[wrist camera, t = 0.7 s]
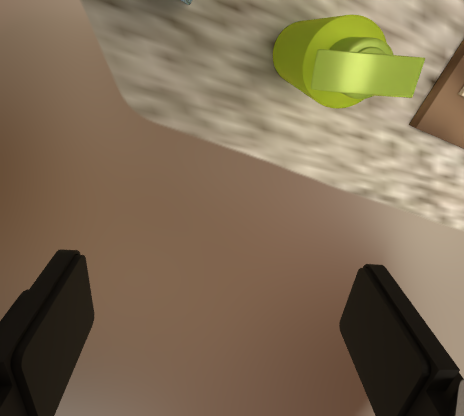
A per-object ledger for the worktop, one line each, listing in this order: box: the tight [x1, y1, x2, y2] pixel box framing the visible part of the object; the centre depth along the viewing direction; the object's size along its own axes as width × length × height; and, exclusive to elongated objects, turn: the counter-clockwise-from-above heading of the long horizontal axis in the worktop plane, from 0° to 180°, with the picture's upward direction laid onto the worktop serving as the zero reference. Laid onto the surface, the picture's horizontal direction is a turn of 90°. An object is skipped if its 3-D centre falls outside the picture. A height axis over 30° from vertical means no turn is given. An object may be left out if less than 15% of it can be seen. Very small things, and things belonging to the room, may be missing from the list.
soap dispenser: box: [273, 15, 425, 108], centre depth 25 cm, size 6×7×20 cm
